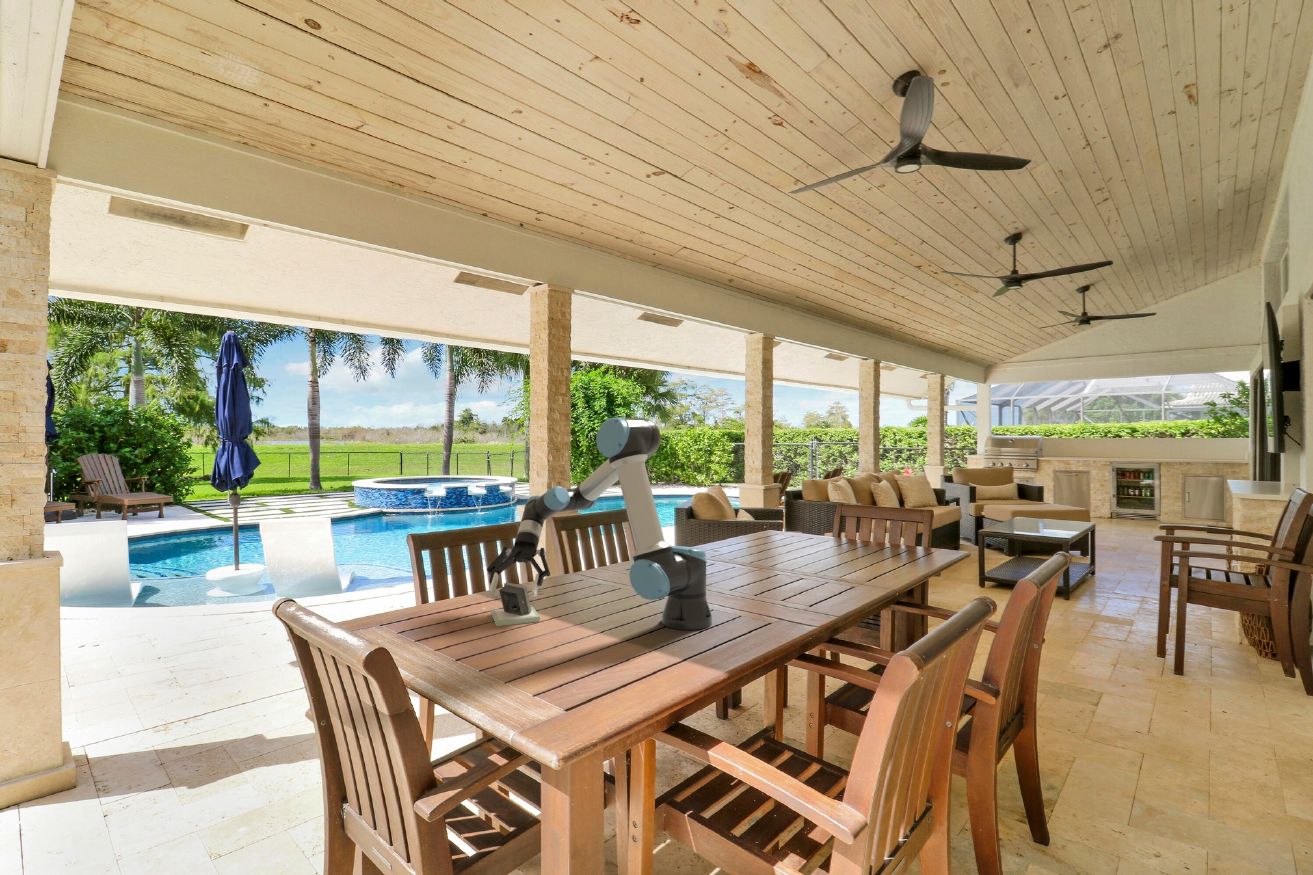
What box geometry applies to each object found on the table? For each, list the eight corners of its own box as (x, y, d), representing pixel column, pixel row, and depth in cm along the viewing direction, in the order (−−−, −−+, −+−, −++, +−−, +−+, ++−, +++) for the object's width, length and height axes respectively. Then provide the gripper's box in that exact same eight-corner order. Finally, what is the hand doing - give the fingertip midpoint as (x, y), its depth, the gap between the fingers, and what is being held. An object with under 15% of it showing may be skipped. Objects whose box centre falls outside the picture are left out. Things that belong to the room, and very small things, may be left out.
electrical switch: (532, 613, 193) (530, 584, 193) (520, 619, 189) (518, 589, 188) (511, 608, 199) (509, 580, 198) (499, 614, 194) (496, 585, 193)
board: (539, 621, 190) (539, 616, 190) (496, 626, 185) (496, 620, 185) (532, 610, 202) (532, 605, 202) (491, 614, 197) (491, 609, 197)
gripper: (566, 544, 208) (554, 601, 193) (495, 543, 210) (477, 598, 196) (562, 531, 202) (549, 588, 187) (489, 529, 205) (470, 585, 190)
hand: (512, 593), depth 191 cm, fingers open, 13 cm apart
